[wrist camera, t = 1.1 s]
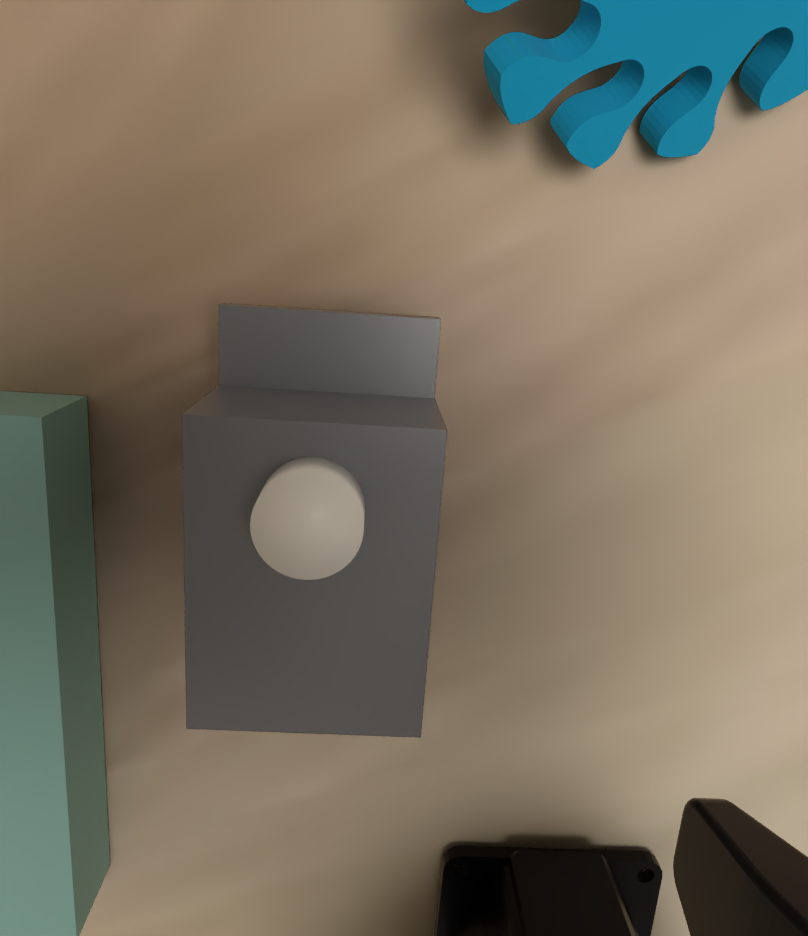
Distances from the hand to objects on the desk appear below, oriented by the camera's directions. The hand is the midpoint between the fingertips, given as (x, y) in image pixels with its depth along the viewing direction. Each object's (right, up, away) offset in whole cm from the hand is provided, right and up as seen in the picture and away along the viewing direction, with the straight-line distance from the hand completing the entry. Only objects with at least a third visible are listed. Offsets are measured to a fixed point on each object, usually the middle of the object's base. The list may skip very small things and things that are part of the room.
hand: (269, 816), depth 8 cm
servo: (0, +3, +11) cm, 12 cm away
